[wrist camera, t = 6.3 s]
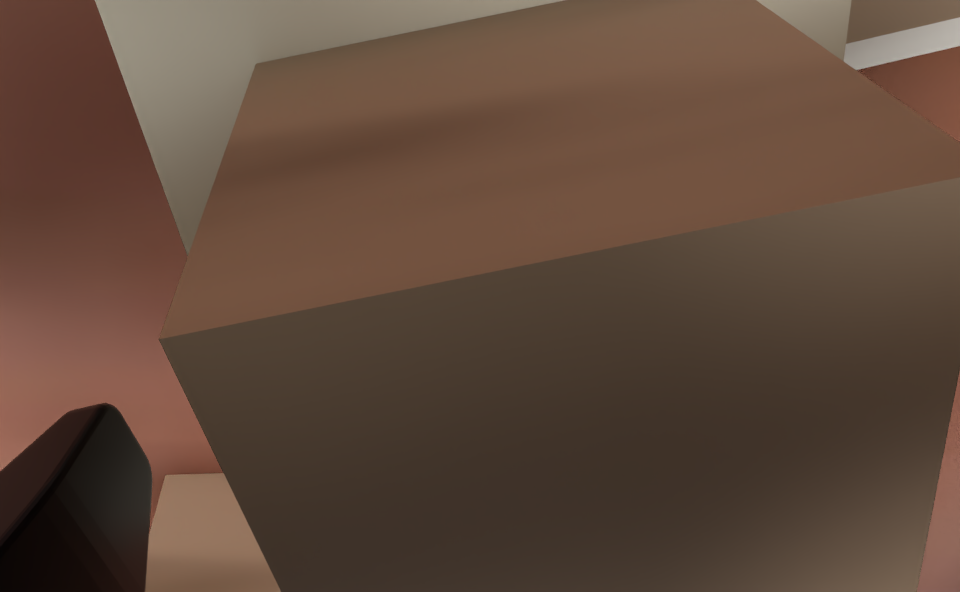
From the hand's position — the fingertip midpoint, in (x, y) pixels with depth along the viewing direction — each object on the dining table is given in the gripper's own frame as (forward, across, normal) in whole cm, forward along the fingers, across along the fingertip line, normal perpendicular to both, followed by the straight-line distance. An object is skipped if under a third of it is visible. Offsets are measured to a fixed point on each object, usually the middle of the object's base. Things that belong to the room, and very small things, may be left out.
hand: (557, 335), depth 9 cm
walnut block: (+2, 0, 0) cm, 2 cm away
